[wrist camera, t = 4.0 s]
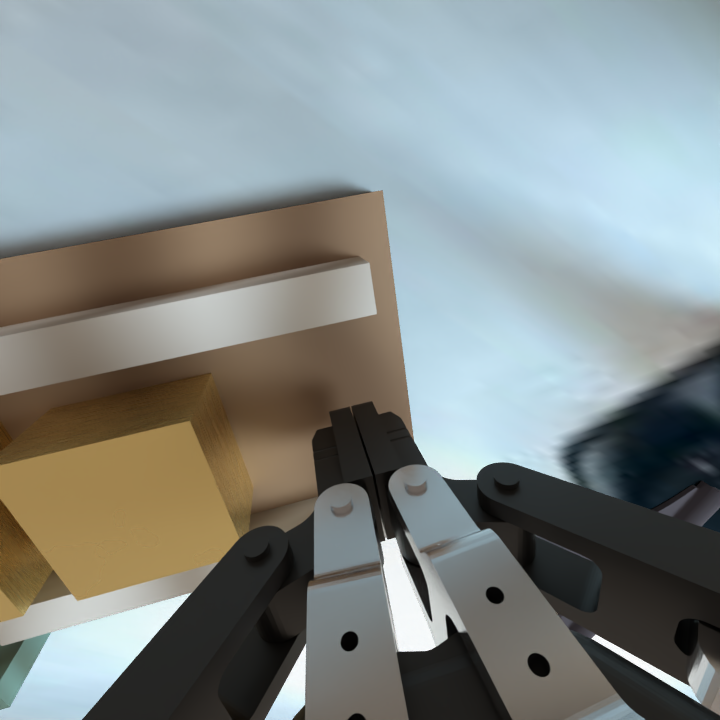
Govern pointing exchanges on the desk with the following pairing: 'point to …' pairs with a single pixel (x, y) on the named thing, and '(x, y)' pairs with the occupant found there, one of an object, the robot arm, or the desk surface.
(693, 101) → the desk surface
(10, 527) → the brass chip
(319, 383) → the slot board
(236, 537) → the block
